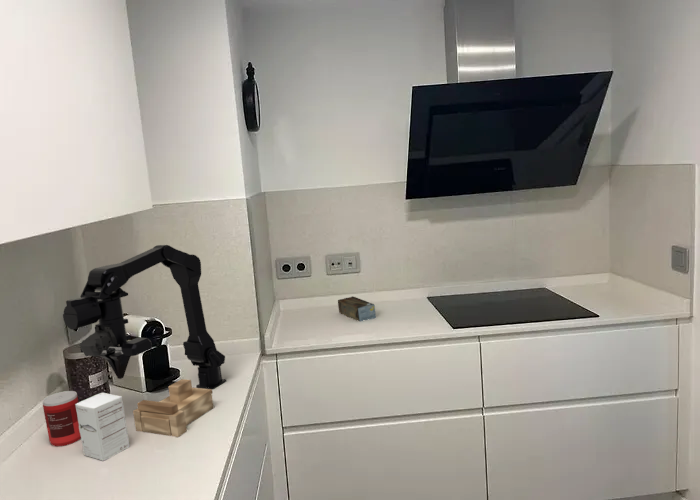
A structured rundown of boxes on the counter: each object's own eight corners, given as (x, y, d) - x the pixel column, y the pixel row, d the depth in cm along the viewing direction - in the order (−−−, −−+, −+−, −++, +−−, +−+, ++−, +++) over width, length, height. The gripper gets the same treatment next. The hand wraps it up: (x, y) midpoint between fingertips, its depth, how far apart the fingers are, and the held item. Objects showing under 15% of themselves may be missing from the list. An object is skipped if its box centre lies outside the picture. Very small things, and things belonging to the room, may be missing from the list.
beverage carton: (359, 322, 217) (357, 306, 216) (338, 313, 234) (336, 298, 234) (376, 318, 221) (375, 302, 220) (354, 310, 238) (353, 295, 237)
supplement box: (82, 456, 127) (73, 403, 125) (111, 441, 133) (103, 391, 131) (102, 462, 123) (93, 408, 121) (131, 446, 129) (122, 395, 127)
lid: (186, 390, 150) (183, 372, 150) (212, 393, 146) (210, 375, 146) (141, 415, 136) (138, 396, 135) (169, 419, 132) (166, 399, 131)
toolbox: (180, 404, 151) (178, 386, 151) (220, 408, 146) (218, 389, 145) (136, 430, 137) (132, 410, 136) (178, 437, 131) (175, 416, 131)
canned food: (75, 429, 142) (68, 388, 140) (90, 436, 137) (83, 394, 135) (44, 442, 136) (36, 399, 134) (58, 450, 131) (50, 405, 129)
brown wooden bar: (144, 406, 138) (143, 400, 138) (178, 410, 133) (177, 403, 133) (138, 410, 136) (137, 403, 136) (172, 414, 132) (171, 407, 131)
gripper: (56, 326, 133) (67, 387, 135) (111, 328, 125) (122, 394, 127) (94, 313, 143) (104, 371, 145) (148, 315, 135) (157, 376, 137)
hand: (120, 378), depth 139 cm, fingers closed
